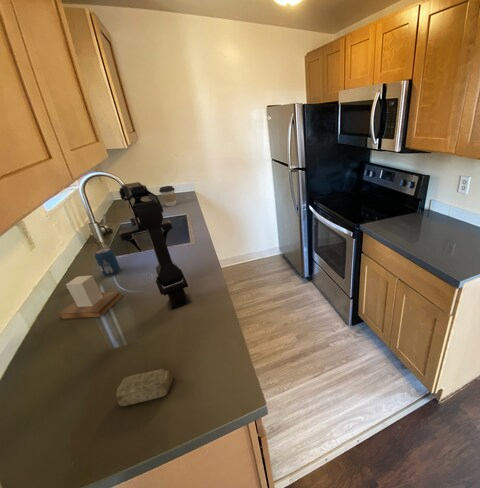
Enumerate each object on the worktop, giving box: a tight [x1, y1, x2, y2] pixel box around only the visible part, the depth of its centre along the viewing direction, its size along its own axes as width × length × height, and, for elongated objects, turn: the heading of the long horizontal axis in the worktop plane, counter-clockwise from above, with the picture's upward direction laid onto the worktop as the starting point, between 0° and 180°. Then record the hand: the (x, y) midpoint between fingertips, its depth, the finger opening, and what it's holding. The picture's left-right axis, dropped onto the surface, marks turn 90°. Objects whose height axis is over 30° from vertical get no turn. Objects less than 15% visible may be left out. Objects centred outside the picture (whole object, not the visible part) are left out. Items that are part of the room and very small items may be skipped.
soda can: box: [94, 247, 121, 277], centre depth 127 cm, size 7×7×12 cm
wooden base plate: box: [58, 291, 122, 320], centre depth 105 cm, size 14×12×2 cm
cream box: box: [65, 275, 103, 307], centre depth 103 cm, size 6×6×10 cm
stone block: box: [115, 367, 173, 407], centre depth 70 cm, size 6×12×5 cm, turn 106°
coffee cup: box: [158, 185, 177, 207], centre depth 225 cm, size 11×11×15 cm
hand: (153, 248), depth 119 cm, fingers open, 9 cm apart
